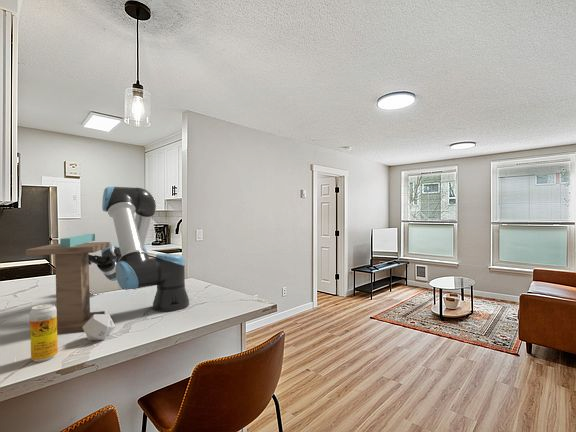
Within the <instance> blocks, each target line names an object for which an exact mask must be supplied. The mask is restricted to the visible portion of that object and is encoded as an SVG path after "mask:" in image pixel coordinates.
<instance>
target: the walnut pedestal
mask: <svg viewBox="0 0 576 432" xmlns="http://www.w3.org/2000/svg"><path fill="white" fill-rule="evenodd" d="M110 243H111V242H110V241H99V242H94V241H91V242H87V243H83V244H80V245H76V246H72V247H60V243H51V244H47V245H42V246H37V247H32V248H27V249H25V256H46V255H50V256H51V255H52V256H53V255H54V262H55V263H54V266H55V301H56V305H55V307H56V308H57V335H59V334H66V333H67V334H69V333H77V332H78V333H79V332H84V330H83V328H82V327H83V326H84V325H85V324H86V323H87V321H88V320H89V319H90V318H91V317H92V316H93V315H94V314H106V311H105V310H102V311H101V310H100V311H91V303H90V301H91V300H90V298H91V297H90V295H91V294H90V265H89V255H90V254H91V253H92V254H93V253H96V252H98V251H101V250H102V249H105V248H108V247H110Z"/></svg>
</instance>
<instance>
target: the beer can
mask: <svg viewBox="0 0 576 432" xmlns="http://www.w3.org/2000/svg"><path fill="white" fill-rule="evenodd" d="M29 330H30V337H29V338H30V359H31V360H32V361H33V362H35V363H40V362H41V363H42V362H47V361H49V360H51V359H54V358H55V357H56V355H57V354H58V353H59V350H58V349H59V347H58V346H59V345H58V334H57V306H56V305H55V304H54V303H44V304H39V305H36V306H32V307H31V310H30V312H29Z"/></svg>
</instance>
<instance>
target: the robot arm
mask: <svg viewBox="0 0 576 432" xmlns="http://www.w3.org/2000/svg"><path fill="white" fill-rule="evenodd" d="M101 205H102V207H101V208H102V211H103V212H106V213H107V214H108V216H109V217H110V218H112V219H113V224H114V230H115V232H116V233H115V234H116V238H117V242H118V247H117V245H116V244H115V243H112V242H110V247H108V248H105V249H102V250H100V251H101V255H96V254H95V255H92V254H89V266H91V265H92V264H96V267H97V268H98V269H99V271H100V272H101V273H102V274H103V275H104V276H105V278H107V280H109V281H111V282H112V281H113V282H114V281H116V282H117V284H118V285H119V287H120V288H121V289H123V290H125V291H129V290H137V289H142V288H148V287H153V286H156V293H155V296H154V299H153V302H152V309H153V311H156V312H174V311H179V310H183V309H185V308H187V307H189V305H190V298H189V296H188V293H187V290H186V286H185V285H186V281H185V280H186V279H185V277H186V276H185V271H186V269H185V266H186V265H185V258H184V256H183V255H180V254H173V253H158V254H156V256H155V258H154V257H153V258H150V256H149V254H148V250H147V247H146V245H145V242H146V239H147V235H148V232H149V227H150V224H151V220H152V217H153V216H154V215H155V213H156V209H157V208H156V207H157V205H156V201H155V198H154V197H153V195H152V193H151V192H149V191H148V190H146V189H144V188H142V187H129V186H128V187H126V186H125V187H124V186H107V187H105V188H104V191H103V195H102V204H101ZM134 214H135V215H134Z"/></svg>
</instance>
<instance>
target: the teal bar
mask: <svg viewBox="0 0 576 432" xmlns="http://www.w3.org/2000/svg"><path fill="white" fill-rule="evenodd" d="M94 241H96V234H95V233H85V234H79V235H75V236H68V237H63V238H60V241H59V242H60V243H59V244H60V247H72V246H76V245H80V244H83V243H92V242H94Z"/></svg>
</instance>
